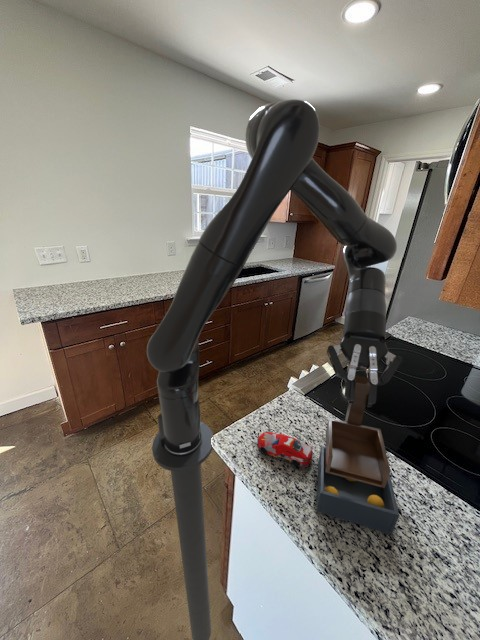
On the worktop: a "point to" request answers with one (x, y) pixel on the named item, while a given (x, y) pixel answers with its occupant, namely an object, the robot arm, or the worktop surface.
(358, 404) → the scoop
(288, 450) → the race car
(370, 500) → the ball
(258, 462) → the worktop surface
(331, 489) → the ball
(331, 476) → the bin
